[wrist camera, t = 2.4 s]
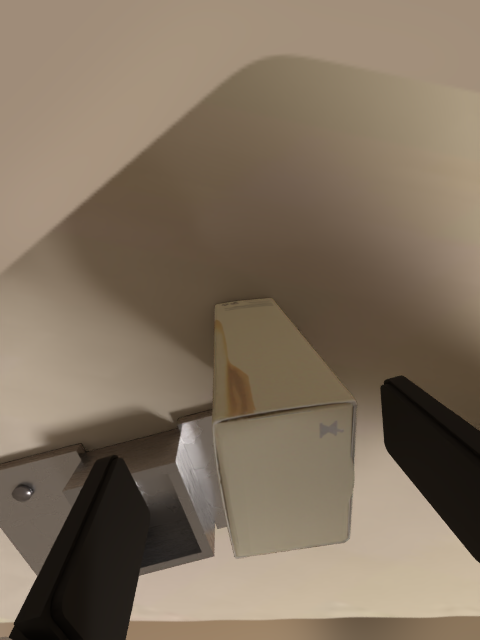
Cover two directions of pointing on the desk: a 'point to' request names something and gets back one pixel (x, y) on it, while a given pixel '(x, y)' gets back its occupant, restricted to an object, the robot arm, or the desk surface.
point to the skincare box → (279, 434)
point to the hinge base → (151, 479)
